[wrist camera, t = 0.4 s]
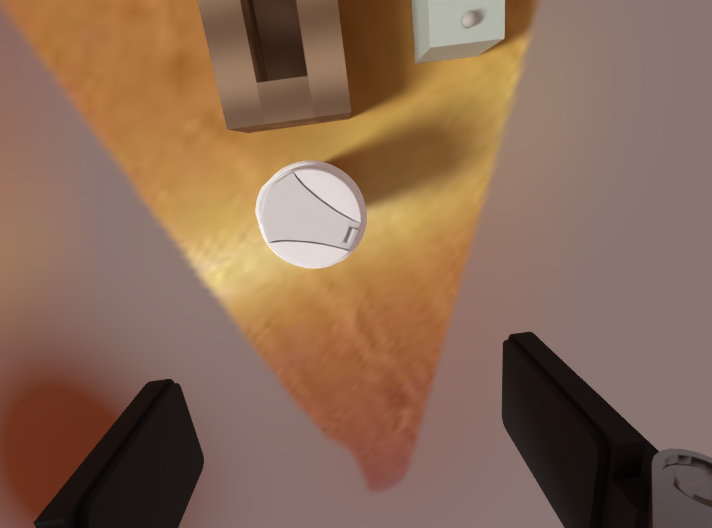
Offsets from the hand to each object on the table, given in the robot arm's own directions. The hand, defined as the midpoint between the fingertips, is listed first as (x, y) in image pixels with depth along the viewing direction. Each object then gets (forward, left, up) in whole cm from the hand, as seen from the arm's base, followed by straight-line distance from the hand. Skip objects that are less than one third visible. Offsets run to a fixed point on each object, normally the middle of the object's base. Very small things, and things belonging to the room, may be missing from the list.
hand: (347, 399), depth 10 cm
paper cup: (-2, -2, -29) cm, 30 cm away
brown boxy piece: (-16, -3, -29) cm, 34 cm away
